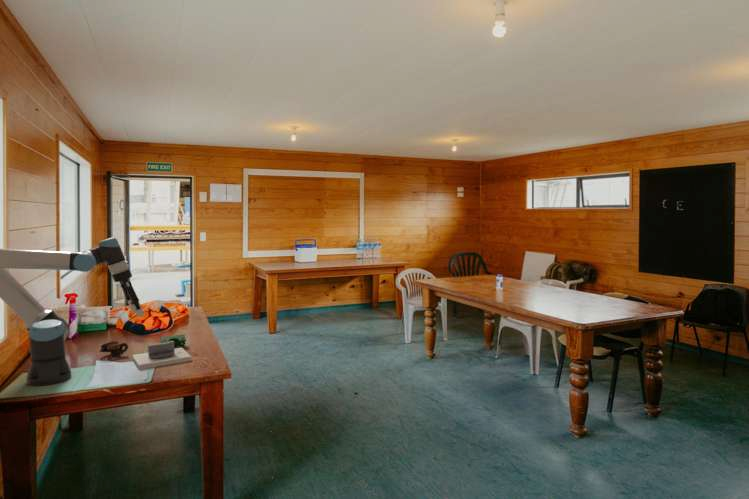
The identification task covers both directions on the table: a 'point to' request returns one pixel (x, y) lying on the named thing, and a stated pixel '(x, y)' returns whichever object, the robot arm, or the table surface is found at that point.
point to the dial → (161, 350)
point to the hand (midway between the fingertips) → (138, 314)
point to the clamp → (175, 340)
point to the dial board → (146, 362)
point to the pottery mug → (114, 349)
